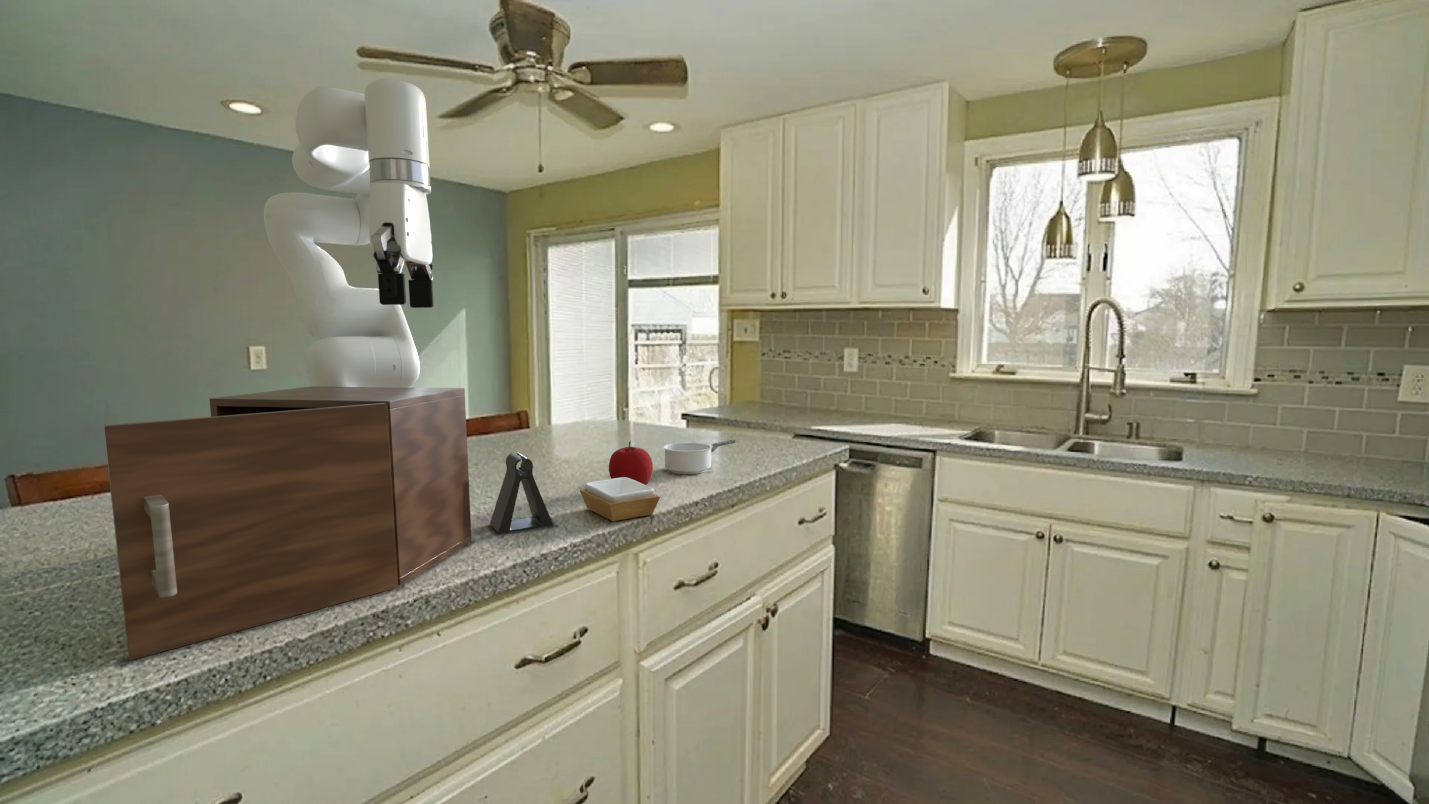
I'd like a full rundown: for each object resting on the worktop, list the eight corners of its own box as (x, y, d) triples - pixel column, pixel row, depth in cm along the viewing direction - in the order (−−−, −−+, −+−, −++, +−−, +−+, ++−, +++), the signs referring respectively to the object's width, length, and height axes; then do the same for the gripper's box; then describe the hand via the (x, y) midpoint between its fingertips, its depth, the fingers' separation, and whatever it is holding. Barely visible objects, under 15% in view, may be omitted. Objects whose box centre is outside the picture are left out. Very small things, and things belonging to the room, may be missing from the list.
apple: (662, 486, 139) (661, 439, 138) (634, 496, 132) (633, 446, 131) (628, 481, 144) (627, 435, 143) (599, 490, 137) (598, 441, 136)
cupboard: (400, 585, 86) (389, 401, 84) (224, 574, 91) (209, 398, 88) (471, 541, 104) (464, 388, 101) (322, 534, 108) (311, 386, 106)
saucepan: (749, 465, 160) (750, 442, 159) (683, 478, 147) (683, 453, 147) (718, 458, 169) (718, 436, 168) (653, 469, 156) (653, 446, 155)
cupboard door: (415, 599, 82) (405, 406, 79) (136, 681, 63) (109, 432, 60) (395, 585, 86) (384, 402, 83) (128, 657, 67) (103, 425, 65)
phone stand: (497, 534, 108) (494, 461, 106) (489, 525, 113) (486, 455, 111) (553, 526, 112) (550, 455, 111) (542, 517, 117) (540, 450, 116)
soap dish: (579, 509, 122) (578, 482, 122) (627, 501, 128) (626, 475, 127) (610, 525, 112) (609, 496, 112) (660, 516, 118) (660, 488, 117)
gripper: (399, 192, 100) (406, 308, 101) (340, 163, 82) (349, 303, 84) (450, 192, 100) (456, 308, 102) (402, 163, 83) (410, 302, 84)
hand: (408, 306), depth 93 cm, fingers open, 9 cm apart
